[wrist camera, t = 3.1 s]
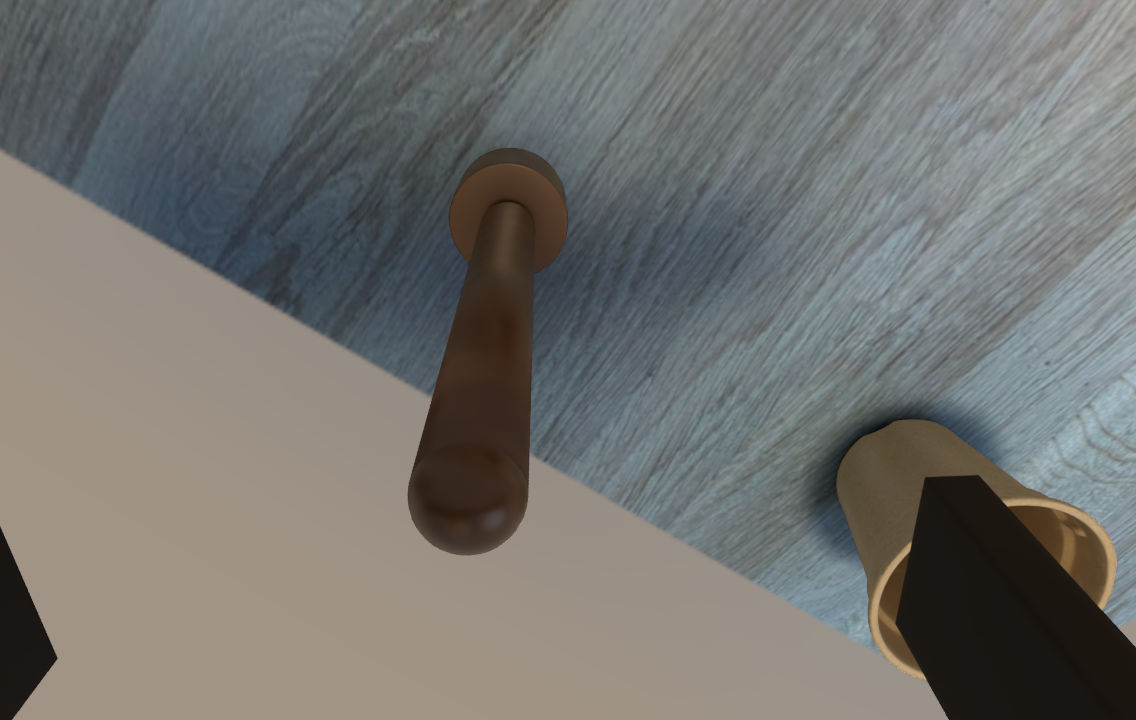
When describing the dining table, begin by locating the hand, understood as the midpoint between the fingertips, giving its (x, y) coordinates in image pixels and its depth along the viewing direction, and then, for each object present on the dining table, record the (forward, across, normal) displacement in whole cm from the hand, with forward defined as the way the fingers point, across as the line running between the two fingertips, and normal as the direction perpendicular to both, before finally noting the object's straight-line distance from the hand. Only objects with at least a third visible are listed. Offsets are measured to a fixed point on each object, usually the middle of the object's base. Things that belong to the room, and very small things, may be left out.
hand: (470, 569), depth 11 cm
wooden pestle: (+22, 0, 0) cm, 22 cm away
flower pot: (+22, +18, -14) cm, 32 cm away
